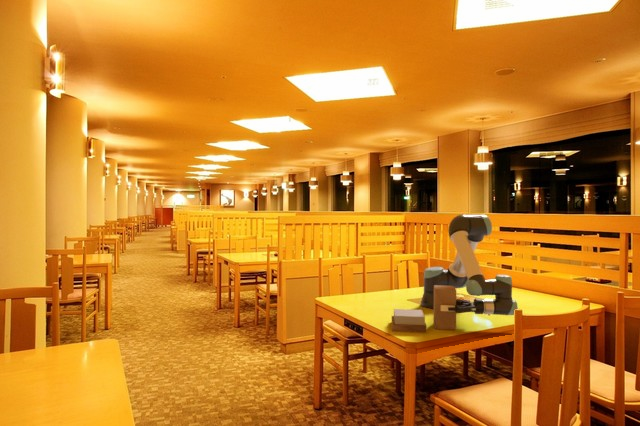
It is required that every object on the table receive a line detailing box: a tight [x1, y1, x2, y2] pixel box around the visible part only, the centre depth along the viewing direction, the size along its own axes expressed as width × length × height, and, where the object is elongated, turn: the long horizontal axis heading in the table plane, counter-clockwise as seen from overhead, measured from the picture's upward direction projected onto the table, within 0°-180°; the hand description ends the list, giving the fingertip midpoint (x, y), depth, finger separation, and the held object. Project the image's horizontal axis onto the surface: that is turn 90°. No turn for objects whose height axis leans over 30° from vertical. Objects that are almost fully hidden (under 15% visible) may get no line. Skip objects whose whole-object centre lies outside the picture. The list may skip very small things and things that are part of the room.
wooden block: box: [433, 285, 457, 331], centre depth 204 cm, size 10×10×20 cm
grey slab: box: [393, 308, 426, 325], centre depth 202 cm, size 14×14×4 cm
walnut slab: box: [391, 315, 427, 334], centre depth 202 cm, size 16×16×4 cm
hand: (438, 304), depth 204 cm, fingers open, 13 cm apart
